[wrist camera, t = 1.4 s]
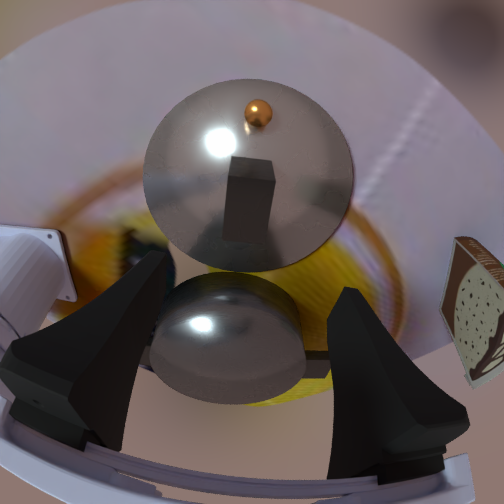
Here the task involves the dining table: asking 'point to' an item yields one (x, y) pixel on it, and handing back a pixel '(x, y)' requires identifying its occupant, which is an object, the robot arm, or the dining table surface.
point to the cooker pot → (231, 340)
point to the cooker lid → (247, 175)
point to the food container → (475, 309)
